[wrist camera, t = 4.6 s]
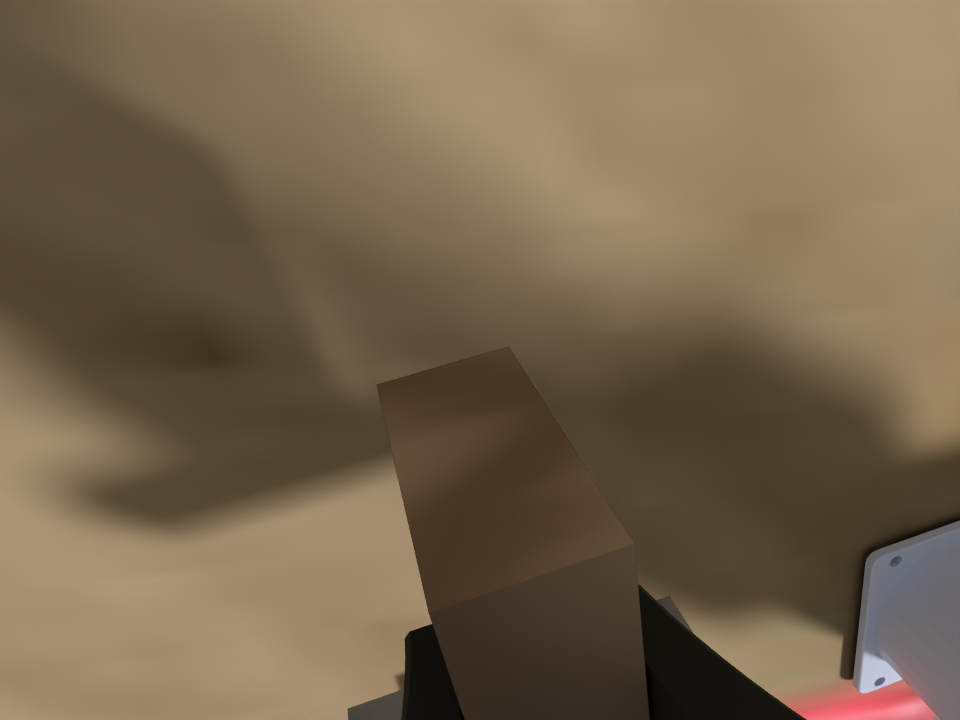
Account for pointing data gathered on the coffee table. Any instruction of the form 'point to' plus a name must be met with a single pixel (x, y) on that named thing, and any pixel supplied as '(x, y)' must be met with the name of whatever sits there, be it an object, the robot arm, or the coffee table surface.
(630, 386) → the coffee table surface
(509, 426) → the plank on grey base
